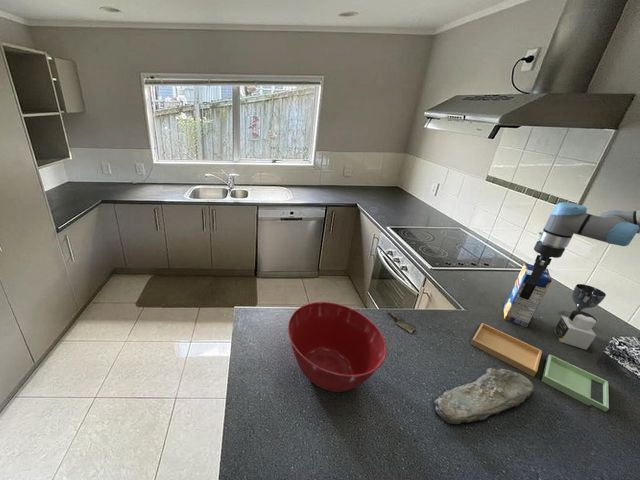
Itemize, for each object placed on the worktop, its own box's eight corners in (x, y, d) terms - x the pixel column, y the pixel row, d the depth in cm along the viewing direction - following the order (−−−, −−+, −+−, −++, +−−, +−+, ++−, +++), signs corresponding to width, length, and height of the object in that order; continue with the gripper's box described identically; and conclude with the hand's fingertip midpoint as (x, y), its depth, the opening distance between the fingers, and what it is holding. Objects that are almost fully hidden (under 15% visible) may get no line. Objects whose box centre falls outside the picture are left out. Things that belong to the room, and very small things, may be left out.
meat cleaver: (406, 334, 104) (417, 332, 106) (407, 332, 104) (418, 330, 105) (385, 313, 114) (394, 311, 116) (385, 310, 114) (395, 309, 115)
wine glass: (590, 324, 113) (610, 294, 107) (580, 329, 110) (600, 298, 104) (564, 311, 120) (582, 282, 114) (554, 315, 117) (571, 286, 111)
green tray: (604, 386, 87) (608, 381, 86) (604, 414, 79) (609, 408, 78) (546, 359, 96) (549, 354, 95) (541, 381, 88) (544, 375, 87)
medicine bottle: (553, 330, 109) (567, 305, 104) (578, 337, 106) (594, 312, 101) (559, 342, 103) (575, 316, 99) (586, 350, 100) (604, 324, 95)
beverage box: (504, 319, 114) (526, 274, 105) (503, 306, 122) (524, 262, 113) (526, 327, 110) (551, 281, 101) (524, 313, 118) (547, 269, 109)
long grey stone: (421, 402, 81) (452, 439, 73) (426, 391, 79) (459, 428, 71) (505, 368, 91) (541, 397, 83) (512, 357, 89) (549, 386, 80)
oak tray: (539, 355, 97) (542, 350, 96) (533, 377, 89) (536, 371, 88) (480, 327, 109) (482, 322, 108) (470, 344, 101) (472, 339, 100)
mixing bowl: (382, 357, 94) (392, 322, 88) (365, 436, 71) (378, 395, 65) (303, 324, 107) (307, 291, 101) (268, 382, 84) (271, 344, 78)
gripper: (542, 232, 112) (520, 276, 121) (532, 249, 97) (508, 298, 106) (568, 238, 107) (543, 284, 116) (563, 258, 92) (534, 309, 101)
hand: (526, 291), depth 111 cm, fingers open, 13 cm apart
